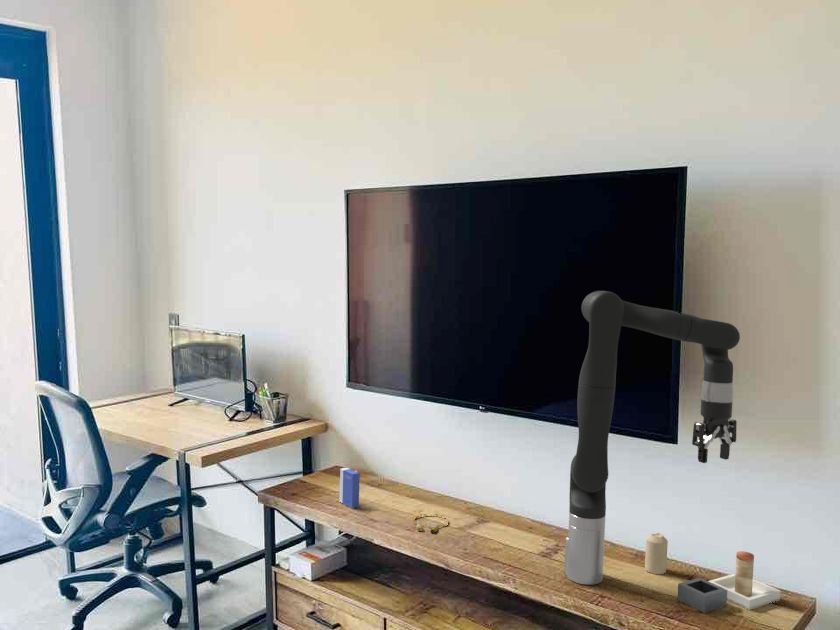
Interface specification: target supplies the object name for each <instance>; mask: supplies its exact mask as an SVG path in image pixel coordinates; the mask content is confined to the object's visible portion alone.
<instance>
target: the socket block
mask: <svg viewBox="0 0 840 630" xmlns="http://www.w3.org/2000/svg"><path fill="white" fill-rule="evenodd" d="M709 581H710V580H706V579H704V578H701V577H698V578H693V579H689V580H686V581H683V582H680V583H678V584H677V597H676V598H677V600H678V601H680V602H681V603H684V604H686V605H688V606H690V607H692V608H694V609H696V610H697V611H700V612H702V613H703V614H706V613H709V612H712V611H715V610H718V609H722V608H725V607H727V606H728V604H727V603H728V600H727V590H726V589H724V588H722V587H720V586H717V585H715V584H713V583H711V582H709Z"/></svg>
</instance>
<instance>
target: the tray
mask: <svg viewBox="0 0 840 630" xmlns="http://www.w3.org/2000/svg"><path fill="white" fill-rule="evenodd" d="M708 581H709V582H711V583H713V584H715V585H717V586H720V587H722V588H724V589H726V590H727V602H730V603H732V602H733V604H734V603H735V605H736V604H737V605H736V606H739V607H740V608H743V609H745V610H748V611H751V610H755V609H757V608H761V607H764V606H766V604H767V605H770V604H773V603H776V602H779V601H781V590H780V589H778V588H776V587H773V586H771V585H768V584H766V583H764V582H760V580H759V581H758V580H756V579H754V578H753V584H752V596H750V597H746V596H744V595H741V594H739V593H737V592H735V573H732V574H728V575H724V576H721V577H718V578H715V579H711V580H708ZM775 601H776V602H775ZM772 602H773V603H772ZM769 603H770V604H769ZM763 605H764V606H763Z"/></svg>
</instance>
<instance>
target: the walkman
mask: <svg viewBox="0 0 840 630" xmlns="http://www.w3.org/2000/svg"><path fill="white" fill-rule="evenodd" d="M339 470H340V471H339V473H340V474H339V497H338V498H339V499H338V501H339V502H341V503H343V504H345V505H347V506H349V507H348V508H350V507H351V508H350V509H352V508H353V507H357V508H359V507H360V481H361V479H360V478H361V476H360V474H361V473H360V472H358V471H359V470H353V469H351V468H349V467H344V468H339ZM341 503H340V504H341ZM343 504H342V505H343ZM345 505H344V506H345ZM347 506H346V507H347ZM358 506H359V507H358ZM353 509H354V508H353Z"/></svg>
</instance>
